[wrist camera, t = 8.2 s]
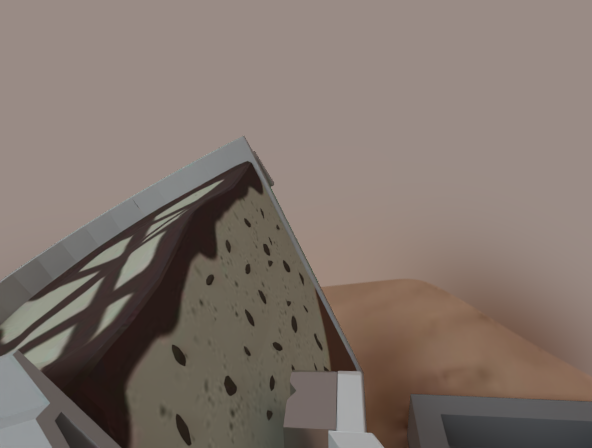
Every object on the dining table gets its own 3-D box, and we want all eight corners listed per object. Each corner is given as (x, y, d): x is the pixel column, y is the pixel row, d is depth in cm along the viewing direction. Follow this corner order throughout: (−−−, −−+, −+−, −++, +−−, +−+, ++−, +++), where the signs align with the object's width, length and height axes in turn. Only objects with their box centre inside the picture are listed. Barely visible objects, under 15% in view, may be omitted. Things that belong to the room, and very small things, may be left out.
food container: (237, 388, 20) (110, 201, 17) (362, 347, 18) (247, 132, 15) (96, 846, 9) (-365, 527, 6) (390, 841, 7) (-29, 392, 4)
